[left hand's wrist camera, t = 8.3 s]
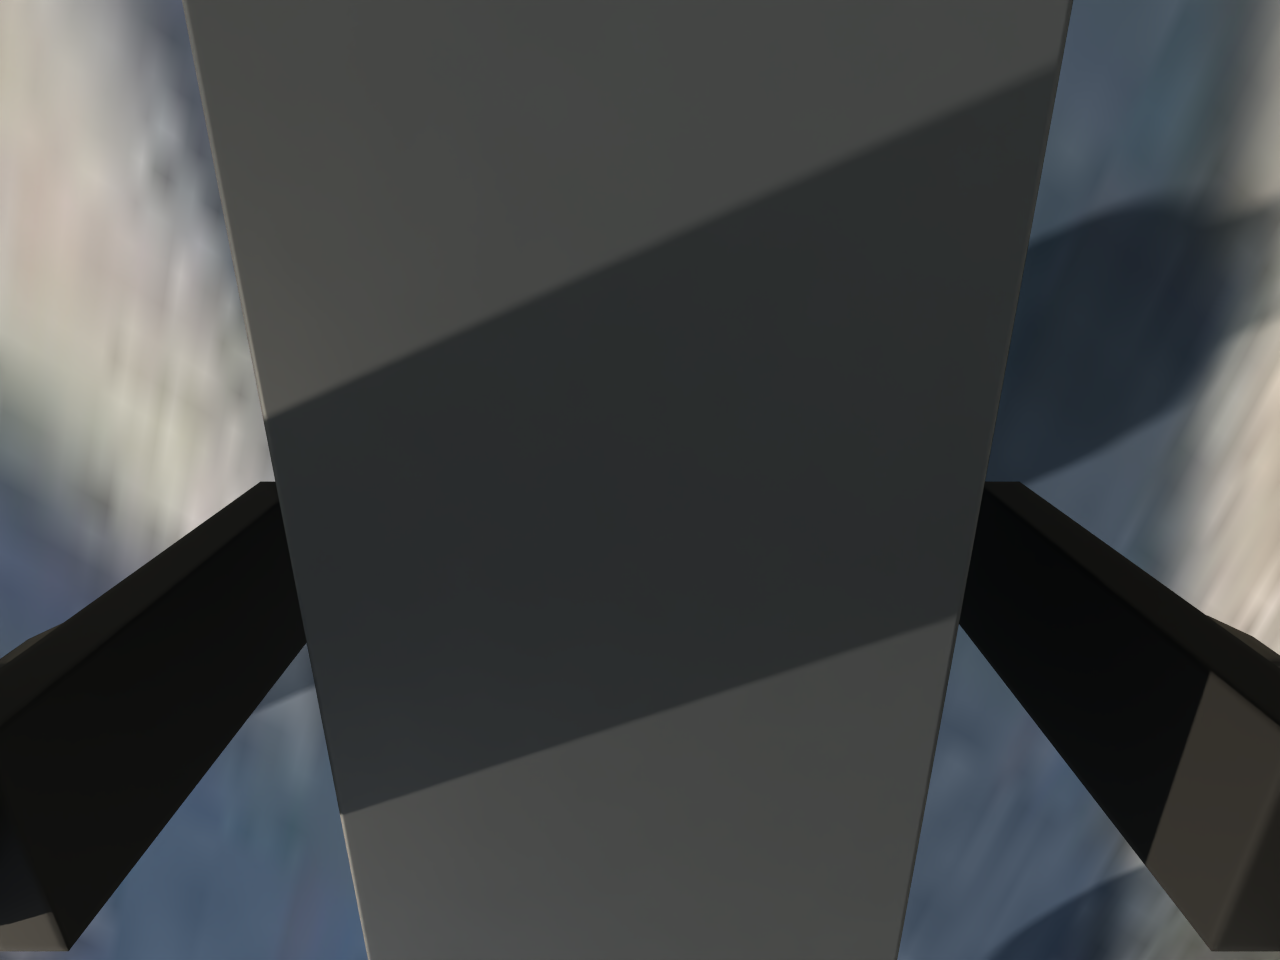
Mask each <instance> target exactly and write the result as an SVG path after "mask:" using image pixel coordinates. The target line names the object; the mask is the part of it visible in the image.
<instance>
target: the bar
mask: <svg viewBox="0 0 1280 960" xmlns="http://www.w3.org/2000/svg"><path fill="white" fill-rule="evenodd" d="M182 3H183V8H184V13H185V18H186V23H187V28H188V34H189V39H190V44H191V49H192V54H193V59H194V64H195V70H196V75H197V80H198V85H199V90H200V95H201V100H202V106H203V111H204V116H205V121H206V126H207V131H208V137H209V142H210V147H211V152H212V157H213V162H214V167H215V173H216V178H217V183H218V188H219V193H220V198H221V203H222V209H223V214H224V219H225V224H226V229H227V234H228V240H229V245H230V250H231V255H232V260H233V265H234V270H235V276H236V281H237V286H238V291H239V296H240V301H241V307H242V312H243V317H244V322H245V327H246V332H247V337H248V343H249V348H250V353H251V358H252V363H253V368H254V373H255V379H256V384H257V389H258V394H259V399H260V404H261V410H262V415H263V420H264V425H265V430H266V435H267V440H268V446H269V451H270V456H271V461H272V466H273V471H274V476H275V482H276V487H277V492H278V497H279V502H280V507H281V513H282V518H283V523H284V528H285V533H286V538H287V543H288V549H289V554H290V559H291V564H292V569H293V574H294V579H295V585H296V590H297V595H298V600H299V605H300V610H301V616H302V621H303V626H304V631H305V636H306V641H307V646H308V652H309V657H310V662H311V667H312V672H313V677H314V682H315V688H316V693H317V698H318V703H319V708H320V713H321V719H322V724H323V729H324V734H325V739H326V744H327V749H328V755H329V760H330V765H331V770H332V775H333V780H334V786H335V791H336V796H337V801H338V806H339V811H340V816H341V822H342V827H343V832H344V837H345V842H346V847H347V852H348V858H349V863H350V868H351V873H352V878H353V883H354V889H355V894H356V899H357V904H358V909H359V914H360V919H361V925H362V930H363V935H364V940H365V945H366V950H367V955H368V960H897V957H898V952H899V947H900V941H901V936H902V930H903V925H904V919H905V914H906V908H907V903H908V897H909V892H910V887H911V881H912V876H913V870H914V865H915V859H916V854H917V848H918V843H919V838H920V832H921V827H922V821H923V816H924V810H925V805H926V799H927V794H928V789H929V783H930V778H931V772H932V767H933V761H934V756H935V750H936V745H937V739H938V734H939V729H940V723H941V718H942V712H943V707H944V701H945V696H946V690H947V685H948V680H949V674H950V669H951V663H952V658H953V652H954V647H955V641H956V636H957V631H958V625H959V620H960V614H961V609H962V603H963V598H964V592H965V587H966V581H967V576H968V571H969V565H970V560H971V554H972V549H973V543H974V538H975V532H976V527H977V522H978V516H979V511H980V505H981V500H982V494H983V489H984V483H985V478H986V472H987V467H988V462H989V456H990V451H991V445H992V440H993V434H994V429H995V423H996V418H997V413H998V407H999V402H1000V396H1001V391H1002V385H1003V380H1004V374H1005V369H1006V364H1007V358H1008V353H1009V347H1010V342H1011V336H1012V331H1013V325H1014V320H1015V314H1016V309H1017V304H1018V298H1019V293H1020V287H1021V282H1022V276H1023V271H1024V265H1025V260H1026V255H1027V249H1028V244H1029V238H1030V233H1031V227H1032V222H1033V216H1034V211H1035V206H1036V200H1037V195H1038V189H1039V184H1040V178H1041V173H1042V167H1043V162H1044V156H1045V151H1046V146H1047V140H1048V135H1049V129H1050V124H1051V118H1052V113H1053V107H1054V102H1055V97H1056V91H1057V86H1058V80H1059V75H1060V69H1061V64H1062V58H1063V53H1064V47H1065V42H1066V37H1067V31H1068V26H1069V20H1070V15H1071V9H1072V4H1073V0H182Z"/></svg>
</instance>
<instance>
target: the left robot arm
mask: <svg viewBox="0 0 1280 960" xmlns="http://www.w3.org/2000/svg"><path fill="white" fill-rule="evenodd" d="M959 624H960V626H961V627H962V628H963V629H964V631H965V632H966V633H967V635H968V636H969V637H970V639H971V640H972V641H973V642H974V644H975V645H976V646H977V648H978V649H979V650H980V652H981V653H982V654H983V655H984V657H985V658H986V659H987V661H988V662H989V663H990V665H991V666H992V667H993V668H994V670H995V671H996V672H997V674H998V675H999V676H1000V677H1001V679H1002V680H1003V681H1004V683H1005V684H1006V685H1007V687H1008V688H1009V689H1010V690H1011V692H1012V693H1013V694H1014V696H1015V697H1016V698H1017V700H1018V701H1019V702H1020V703H1021V705H1022V706H1023V707H1024V709H1025V710H1026V711H1027V712H1028V714H1029V715H1030V716H1031V718H1032V719H1033V720H1034V722H1035V723H1036V724H1037V725H1038V727H1039V728H1040V729H1041V731H1042V732H1043V733H1044V735H1045V736H1046V737H1047V738H1048V740H1049V741H1050V742H1051V744H1052V745H1053V746H1054V747H1055V749H1056V750H1057V751H1058V753H1059V754H1060V755H1061V757H1062V758H1063V759H1064V760H1065V762H1066V763H1067V764H1068V766H1069V767H1070V768H1071V770H1072V771H1073V772H1074V773H1075V775H1076V776H1077V777H1078V779H1079V780H1080V781H1081V782H1082V784H1083V785H1084V786H1085V788H1086V789H1087V790H1088V792H1089V793H1090V794H1091V795H1092V797H1093V798H1094V799H1095V801H1096V802H1097V803H1098V805H1099V806H1100V807H1101V808H1102V810H1103V811H1104V812H1105V814H1106V815H1107V816H1108V818H1109V819H1110V820H1111V821H1112V823H1113V824H1114V825H1115V827H1116V828H1117V829H1118V830H1119V832H1120V833H1121V834H1122V836H1123V837H1124V838H1125V840H1126V841H1127V842H1128V843H1129V845H1130V846H1131V847H1132V849H1133V850H1134V851H1135V853H1136V854H1137V855H1138V856H1139V858H1140V859H1141V860H1142V862H1143V863H1144V864H1145V865H1146V867H1147V868H1148V869H1149V871H1150V872H1151V873H1152V875H1153V876H1154V877H1155V878H1156V880H1157V881H1158V882H1159V884H1160V885H1161V886H1162V888H1163V889H1164V890H1165V891H1166V893H1167V894H1168V895H1169V897H1170V898H1171V899H1172V900H1173V902H1174V903H1175V904H1176V906H1177V907H1178V908H1179V910H1180V911H1181V912H1182V913H1183V915H1184V916H1185V917H1186V919H1187V920H1188V921H1189V923H1190V924H1191V925H1192V926H1193V928H1194V929H1195V930H1196V932H1197V933H1198V934H1199V935H1200V937H1201V938H1202V939H1203V941H1204V942H1205V943H1206V945H1207V946H1208V947H1209V948H1210V950H1211V951H1280V655H1278V654H1277V653H1276V652H1274V651H1273V650H1271V649H1270V648H1268V647H1267V646H1265V645H1264V644H1263V643H1261V642H1260V641H1258V640H1257V639H1255V638H1254V637H1252V636H1250V635H1248V634H1246V633H1244V632H1242V631H1240V630H1237V629H1235V628H1233V627H1231V626H1229V625H1227V624H1225V623H1222V622H1220V621H1218V620H1216V619H1214V618H1212V617H1209V616H1206V615H1205V614H1204V613H1202V612H1201V611H1199V610H1198V609H1197V608H1195V607H1194V606H1192V605H1191V604H1190V603H1188V602H1187V601H1185V600H1184V599H1183V598H1181V597H1180V596H1178V595H1177V594H1176V593H1174V592H1173V591H1171V590H1170V589H1169V588H1167V587H1166V586H1164V585H1163V584H1162V583H1160V582H1159V581H1157V580H1156V579H1155V578H1153V577H1152V576H1150V575H1149V574H1148V573H1146V572H1145V571H1143V570H1142V569H1141V568H1139V567H1138V566H1136V565H1135V564H1134V563H1132V562H1131V561H1129V560H1128V559H1127V558H1125V557H1124V556H1122V555H1121V554H1120V553H1118V552H1117V551H1116V550H1114V549H1113V548H1111V547H1110V546H1109V545H1107V544H1106V543H1104V542H1103V541H1102V540H1100V539H1099V538H1097V537H1096V536H1095V535H1093V534H1092V533H1090V532H1089V531H1088V530H1086V529H1085V528H1083V527H1082V526H1081V525H1079V524H1078V523H1076V522H1075V521H1074V520H1072V519H1071V518H1069V517H1068V516H1067V515H1065V514H1064V513H1062V512H1061V511H1060V510H1058V509H1057V508H1055V507H1054V506H1053V505H1051V504H1050V503H1048V502H1047V501H1046V500H1044V499H1043V498H1041V497H1040V496H1039V495H1037V494H1036V493H1034V492H1033V491H1032V490H1030V489H1029V488H1028V487H1026V486H1025V485H1023V484H1022V483H1021V482H985V483H984V489H983V494H982V500H981V505H980V511H979V516H978V522H977V527H976V532H975V538H974V543H973V549H972V554H971V560H970V565H969V571H968V576H967V581H966V587H965V592H964V598H963V603H962V609H961V614H960V620H959ZM306 642H307V641H306V636H305V631H304V626H303V621H302V616H301V610H300V605H299V600H298V595H297V590H296V585H295V579H294V574H293V569H292V564H291V559H290V554H289V549H288V543H287V538H286V533H285V528H284V523H283V518H282V513H281V507H280V502H279V497H278V492H277V487H276V482H259V483H258V484H257V485H255V486H254V487H253V488H251V489H250V490H248V491H247V492H246V493H244V494H243V495H241V496H240V497H239V498H237V499H236V500H234V501H233V502H232V503H230V504H229V505H227V506H226V507H225V508H223V509H222V510H220V511H219V512H218V513H216V514H215V515H213V516H212V517H211V518H209V519H208V520H206V521H205V522H204V523H202V524H201V525H199V526H198V527H197V528H195V529H194V530H192V531H191V532H190V533H188V534H187V535H185V536H184V537H183V538H181V539H180V540H178V541H177V542H176V543H174V544H173V545H171V546H170V547H169V548H167V549H166V550H165V551H163V552H162V553H160V554H159V555H158V556H156V557H155V558H153V559H152V560H151V561H149V562H148V563H146V564H145V565H144V566H142V567H141V568H139V569H138V570H137V571H135V572H134V573H132V574H131V575H130V576H128V577H127V578H125V579H124V580H123V581H121V582H120V583H118V584H117V585H116V586H114V587H113V588H111V589H110V590H109V591H107V592H106V593H104V594H103V595H102V596H100V597H99V598H97V599H96V600H95V601H93V602H92V603H90V604H89V605H88V606H86V607H85V608H83V609H82V610H81V611H79V612H78V613H77V614H75V615H74V616H72V617H71V618H70V619H68V620H67V621H65V622H64V623H62V624H60V625H58V626H56V627H53V628H51V629H49V630H47V631H45V632H43V633H41V634H39V635H36V636H34V637H32V638H30V639H28V640H27V641H25V642H24V643H22V644H21V645H19V646H18V647H17V648H15V649H14V650H12V651H11V652H9V653H8V654H7V655H5V656H4V657H2V658H1V659H0V951H69V950H70V948H71V947H72V946H73V945H74V943H75V942H76V941H77V939H78V938H79V937H80V936H81V934H82V933H83V932H84V930H85V929H86V928H87V926H88V925H89V924H90V923H91V921H92V920H93V919H94V917H95V916H96V915H97V913H98V912H99V911H100V910H101V908H102V907H103V906H104V904H105V903H106V902H107V901H108V899H109V898H110V897H111V895H112V894H113V893H114V891H115V890H116V889H117V888H118V886H119V885H120V884H121V882H122V881H123V880H124V878H125V877H126V876H127V875H128V873H129V872H130V871H131V869H132V868H133V867H134V865H135V864H136V863H137V862H138V860H139V859H140V858H141V856H142V855H143V854H144V853H145V851H146V850H147V849H148V847H149V846H150V845H151V843H152V842H153V841H154V840H155V838H156V837H157V836H158V834H159V833H160V832H161V830H162V829H163V828H164V827H165V825H166V824H167V823H168V821H169V820H170V819H171V818H172V816H173V815H174V814H175V812H176V811H177V810H178V808H179V807H180V806H181V805H182V803H183V802H184V801H185V799H186V798H187V797H188V795H189V794H190V793H191V792H192V790H193V789H194V788H195V786H196V785H197V784H198V783H199V781H200V780H201V779H202V777H203V776H204V775H205V773H206V772H207V771H208V770H209V768H210V767H211V766H212V764H213V763H214V762H215V760H216V759H217V758H218V757H219V755H220V754H221V753H222V751H223V750H224V749H225V748H226V746H227V745H228V744H229V742H230V741H231V740H232V738H233V737H234V736H235V735H236V733H237V732H238V731H239V729H240V728H241V727H242V725H243V724H244V723H245V722H246V720H247V719H248V718H249V716H250V715H251V714H252V712H253V711H254V710H255V709H256V707H257V706H258V705H259V703H260V702H261V701H262V700H263V698H264V697H265V696H266V694H267V693H268V692H269V690H270V689H271V688H272V687H273V685H274V684H275V683H276V681H277V680H278V679H279V677H280V676H281V675H282V674H283V672H284V671H285V670H286V668H287V667H288V666H289V665H290V663H291V662H292V661H293V659H294V658H295V657H296V655H297V654H298V653H299V652H300V650H301V649H302V648H303V646H304V645H305V644H306Z"/></svg>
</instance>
